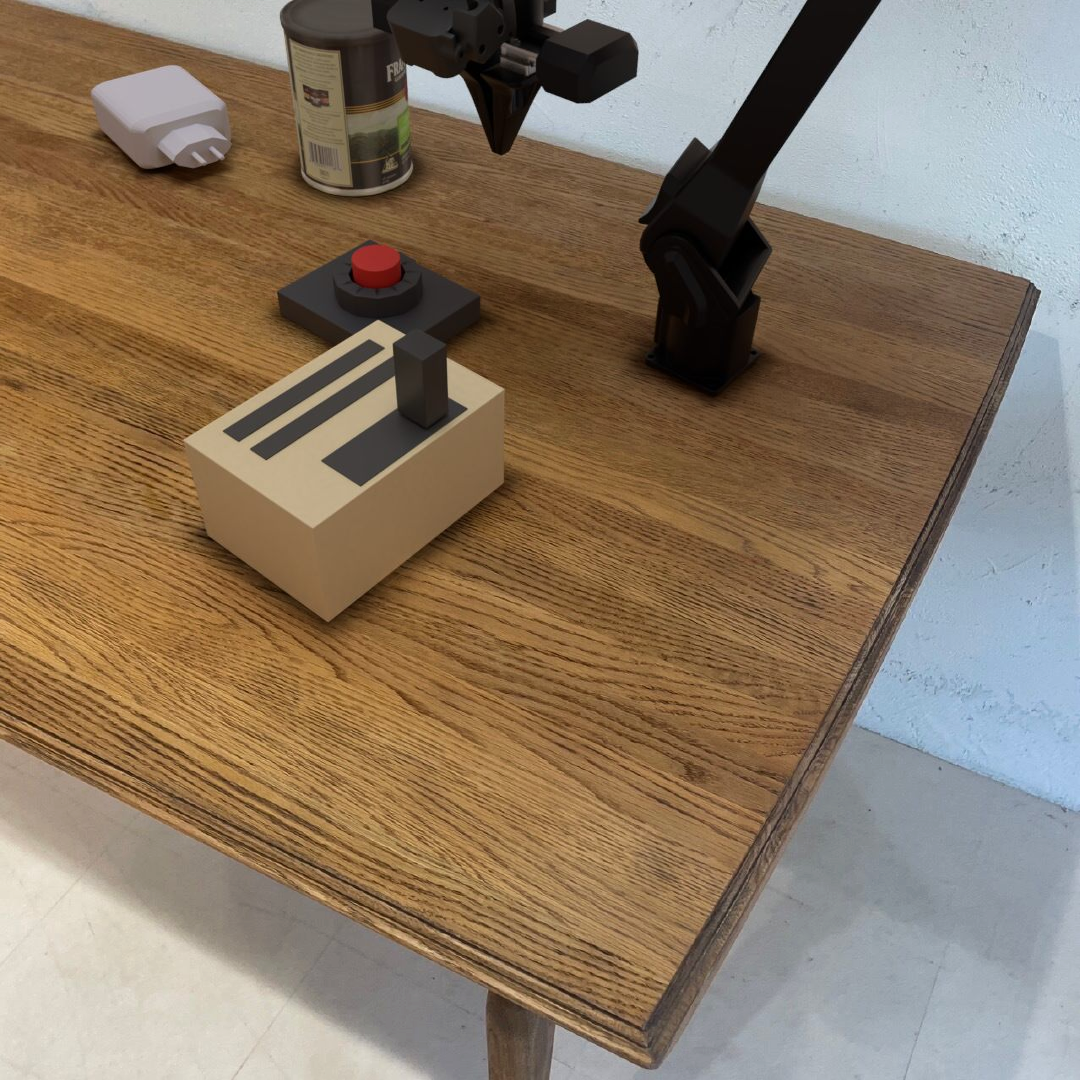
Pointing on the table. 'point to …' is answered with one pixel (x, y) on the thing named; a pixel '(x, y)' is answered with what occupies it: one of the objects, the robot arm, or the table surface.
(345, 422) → the toaster
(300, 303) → the control block
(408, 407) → the slider
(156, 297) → the table surface
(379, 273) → the button
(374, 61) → the coffee can
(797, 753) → the table surface
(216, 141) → the charger
